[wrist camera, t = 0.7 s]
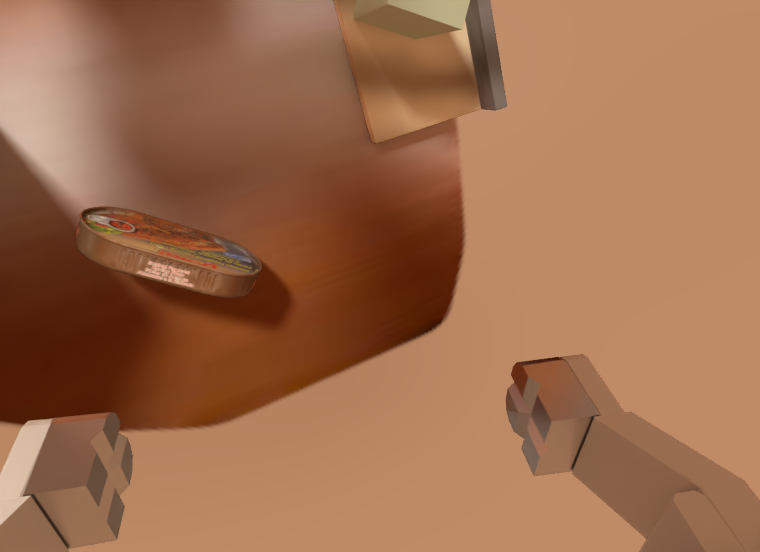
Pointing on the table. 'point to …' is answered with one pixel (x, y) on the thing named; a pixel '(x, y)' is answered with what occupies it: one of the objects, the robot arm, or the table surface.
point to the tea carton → (413, 16)
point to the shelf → (422, 72)
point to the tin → (166, 252)
